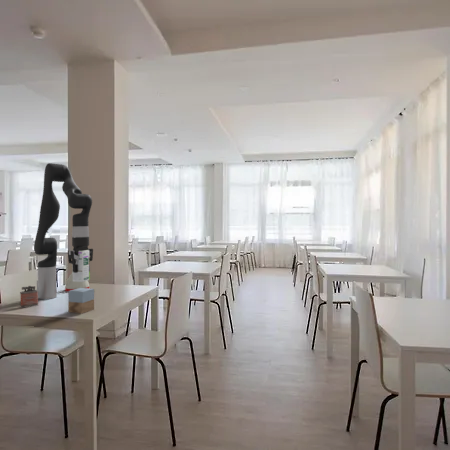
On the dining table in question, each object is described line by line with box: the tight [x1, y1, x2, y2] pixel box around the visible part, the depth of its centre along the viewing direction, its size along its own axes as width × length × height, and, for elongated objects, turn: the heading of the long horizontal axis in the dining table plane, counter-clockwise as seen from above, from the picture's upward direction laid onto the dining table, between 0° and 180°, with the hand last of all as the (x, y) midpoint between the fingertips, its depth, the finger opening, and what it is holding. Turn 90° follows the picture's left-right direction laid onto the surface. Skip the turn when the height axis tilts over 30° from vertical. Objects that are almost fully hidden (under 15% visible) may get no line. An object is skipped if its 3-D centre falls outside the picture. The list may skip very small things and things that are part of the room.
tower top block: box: [67, 287, 95, 303], centre depth 172 cm, size 8×8×5 cm
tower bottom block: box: [67, 298, 95, 314], centre depth 173 cm, size 8×8×5 cm
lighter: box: [19, 285, 39, 308], centre depth 183 cm, size 8×3×10 cm, turn 134°
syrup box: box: [71, 250, 91, 282], centre depth 172 cm, size 6×6×14 cm
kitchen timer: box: [64, 272, 90, 292], centre depth 227 cm, size 14×14×15 cm
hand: (81, 271), depth 172 cm, fingers closed on syrup box, 6 cm apart
